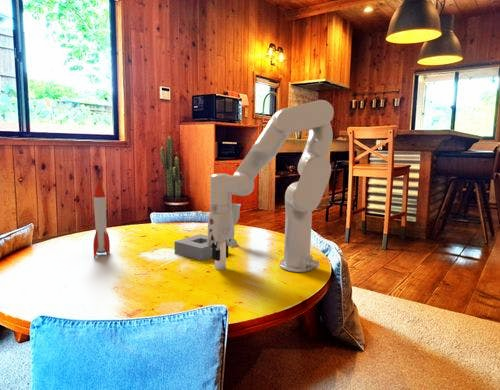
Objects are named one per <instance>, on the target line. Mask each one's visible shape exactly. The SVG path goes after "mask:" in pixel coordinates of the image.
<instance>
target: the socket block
mask: <svg viewBox="0 0 500 390" xmlns="http://www.w3.org/2000/svg"><path fill="white" fill-rule="evenodd" d="M207 239H208V235H204V234H200V233H199V234H196V235H193V236H189V237H185V238H181V239H178V240H175V241H174V254H176V255H180V256H183V257H187V258H190V259H194V260H197V261H202V262H203V261H205V260H208V259H212V249H211V247H210V246H209V245H208V244H206V242H207Z"/></svg>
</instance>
